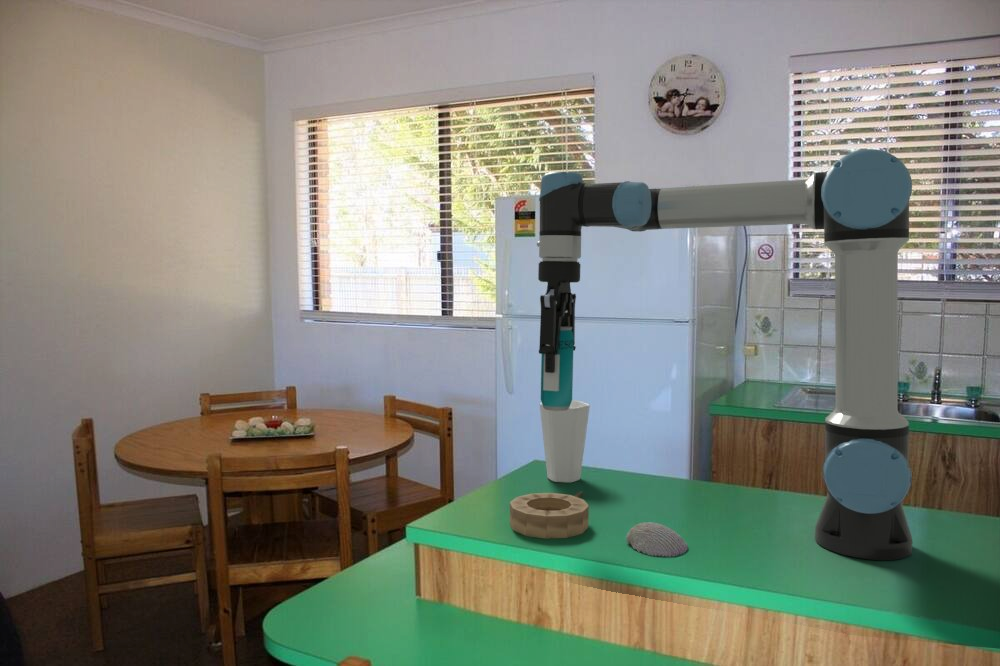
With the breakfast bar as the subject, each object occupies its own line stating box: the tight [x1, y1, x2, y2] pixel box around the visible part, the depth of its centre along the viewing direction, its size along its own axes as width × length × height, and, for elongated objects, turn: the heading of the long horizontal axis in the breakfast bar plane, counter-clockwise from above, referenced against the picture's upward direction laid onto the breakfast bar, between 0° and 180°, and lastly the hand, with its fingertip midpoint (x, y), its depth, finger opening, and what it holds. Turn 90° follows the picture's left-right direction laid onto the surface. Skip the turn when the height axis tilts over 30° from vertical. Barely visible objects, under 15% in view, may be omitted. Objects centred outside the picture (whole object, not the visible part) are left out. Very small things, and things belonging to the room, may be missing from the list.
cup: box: [539, 399, 590, 483], centre depth 173 cm, size 11×10×17 cm
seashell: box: [625, 521, 689, 558], centre depth 132 cm, size 10×6×10 cm
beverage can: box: [540, 326, 575, 411], centre depth 140 cm, size 6×6×15 cm
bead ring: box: [509, 492, 590, 540], centre depth 142 cm, size 14×14×4 cm
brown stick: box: [573, 491, 583, 499], centre depth 155 cm, size 1×14×1 cm, turn 159°
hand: (556, 387), depth 140 cm, fingers closed on beverage can, 6 cm apart
